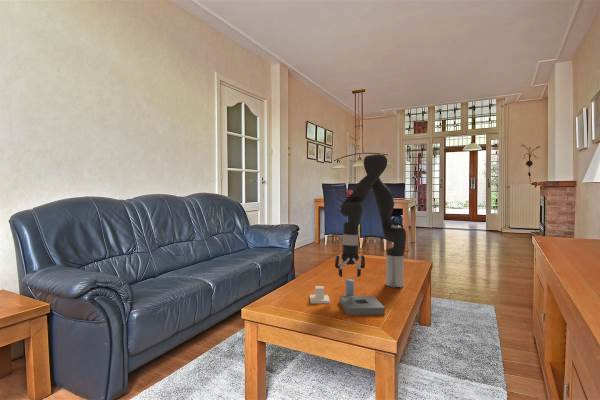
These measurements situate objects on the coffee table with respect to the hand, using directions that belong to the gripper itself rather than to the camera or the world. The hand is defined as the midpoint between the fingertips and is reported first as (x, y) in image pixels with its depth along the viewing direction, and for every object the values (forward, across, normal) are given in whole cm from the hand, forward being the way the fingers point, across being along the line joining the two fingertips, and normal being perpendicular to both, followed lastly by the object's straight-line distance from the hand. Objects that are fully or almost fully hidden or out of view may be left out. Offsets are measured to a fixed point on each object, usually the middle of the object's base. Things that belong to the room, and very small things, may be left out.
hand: (349, 276), depth 160 cm
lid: (+11, +15, +1) cm, 18 cm away
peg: (+11, 0, 0) cm, 11 cm away
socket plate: (+11, -2, +13) cm, 17 cm away
